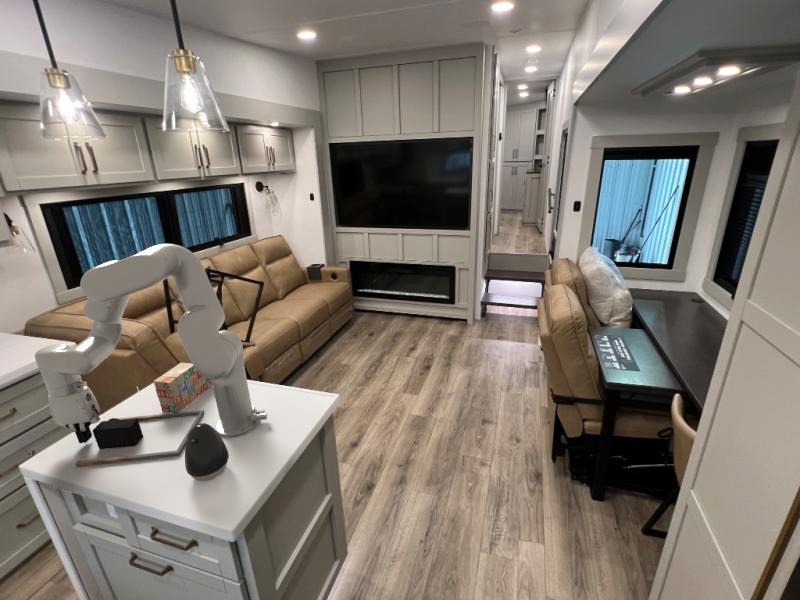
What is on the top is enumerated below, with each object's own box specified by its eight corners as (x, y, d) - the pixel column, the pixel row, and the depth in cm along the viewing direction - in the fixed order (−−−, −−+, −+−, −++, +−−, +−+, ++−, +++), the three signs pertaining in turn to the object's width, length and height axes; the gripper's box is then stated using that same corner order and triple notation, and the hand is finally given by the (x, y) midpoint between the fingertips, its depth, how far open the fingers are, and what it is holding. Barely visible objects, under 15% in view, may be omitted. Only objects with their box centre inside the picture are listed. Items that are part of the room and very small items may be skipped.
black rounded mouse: (181, 490, 96) (167, 441, 91) (198, 460, 106) (187, 414, 101) (223, 486, 97) (211, 438, 92) (236, 457, 107) (226, 411, 102)
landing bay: (204, 413, 127) (204, 410, 126) (179, 456, 108) (178, 452, 107) (163, 417, 125) (162, 414, 125) (130, 461, 106) (129, 457, 106)
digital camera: (146, 434, 118) (140, 415, 115) (136, 446, 112) (130, 426, 110) (110, 437, 117) (103, 418, 114) (99, 449, 112) (92, 430, 109)
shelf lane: (163, 417, 125) (162, 414, 125) (130, 461, 106) (129, 457, 106) (117, 421, 124) (116, 418, 123) (76, 467, 105) (75, 463, 105)
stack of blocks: (205, 378, 148) (198, 350, 144) (219, 380, 146) (213, 351, 142) (161, 412, 128) (152, 380, 124) (177, 414, 127) (169, 382, 123)
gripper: (102, 377, 112) (119, 429, 118) (47, 382, 110) (67, 434, 116) (86, 391, 105) (105, 445, 111) (26, 397, 103) (49, 451, 109)
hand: (86, 439), depth 113 cm, fingers closed
